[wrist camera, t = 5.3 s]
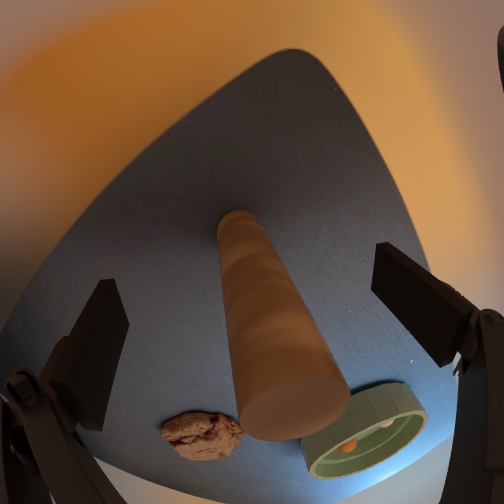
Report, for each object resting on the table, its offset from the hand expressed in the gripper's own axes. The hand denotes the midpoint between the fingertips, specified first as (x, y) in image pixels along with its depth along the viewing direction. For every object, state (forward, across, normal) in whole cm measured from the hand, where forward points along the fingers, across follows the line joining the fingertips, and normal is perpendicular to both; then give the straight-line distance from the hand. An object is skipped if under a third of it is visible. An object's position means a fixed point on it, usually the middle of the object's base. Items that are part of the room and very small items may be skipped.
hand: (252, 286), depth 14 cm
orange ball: (+5, +12, -32) cm, 35 cm away
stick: (+8, 0, 0) cm, 8 cm away
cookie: (+8, -7, -25) cm, 27 cm away
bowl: (+8, +14, -30) cm, 34 cm away
